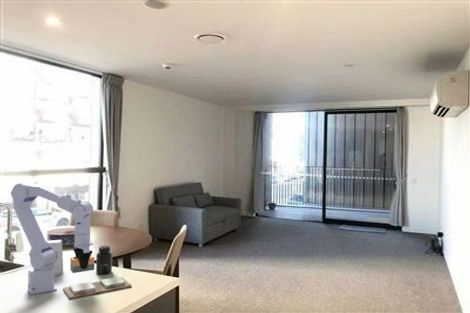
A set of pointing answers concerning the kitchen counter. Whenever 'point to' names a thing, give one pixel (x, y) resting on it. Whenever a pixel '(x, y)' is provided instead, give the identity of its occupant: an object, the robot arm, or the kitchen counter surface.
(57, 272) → the skincare box
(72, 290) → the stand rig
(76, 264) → the plate
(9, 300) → the kitchen counter surface
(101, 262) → the supplement bottle
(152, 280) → the kitchen counter surface
